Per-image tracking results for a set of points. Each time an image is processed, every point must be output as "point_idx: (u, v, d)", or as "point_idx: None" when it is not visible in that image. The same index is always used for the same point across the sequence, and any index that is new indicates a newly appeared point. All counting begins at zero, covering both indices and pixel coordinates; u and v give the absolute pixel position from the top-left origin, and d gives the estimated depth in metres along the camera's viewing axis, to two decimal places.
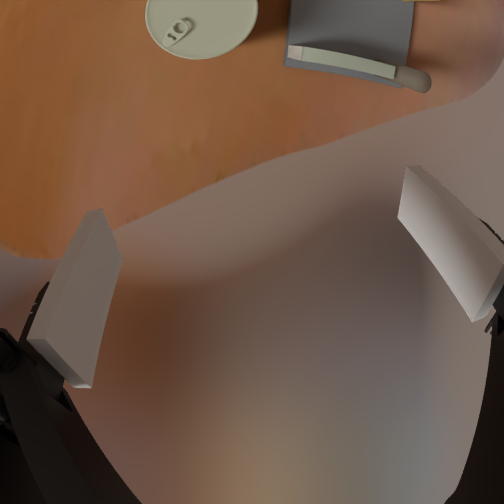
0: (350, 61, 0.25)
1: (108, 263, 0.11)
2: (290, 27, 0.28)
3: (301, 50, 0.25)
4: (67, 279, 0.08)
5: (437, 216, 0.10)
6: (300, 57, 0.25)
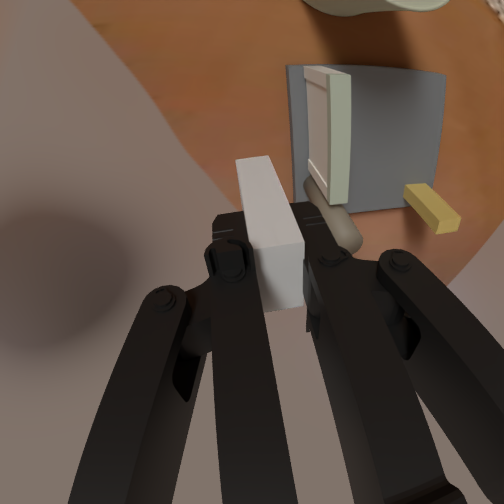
0: (341, 140, 0.20)
1: None
2: (343, 66, 0.23)
3: (340, 73, 0.18)
4: (265, 203, 0.10)
5: None
6: (329, 73, 0.18)
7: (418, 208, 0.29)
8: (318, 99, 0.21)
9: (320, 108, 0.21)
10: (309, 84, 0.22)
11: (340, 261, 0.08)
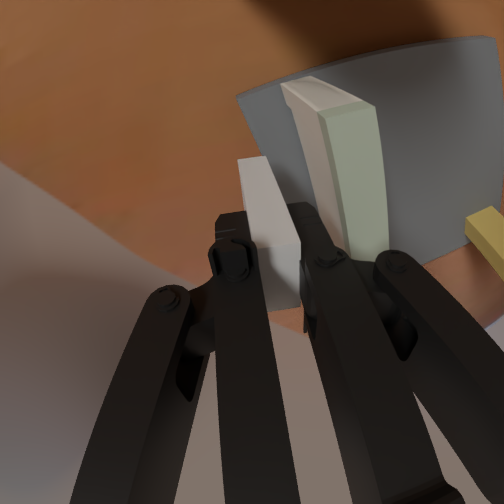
0: (371, 245, 0.10)
1: None
2: (334, 66, 0.12)
3: (349, 102, 0.08)
4: (268, 203, 0.10)
5: None
6: (324, 107, 0.08)
7: (489, 255, 0.17)
8: (315, 152, 0.12)
9: (322, 171, 0.12)
10: (297, 117, 0.13)
11: (337, 261, 0.08)
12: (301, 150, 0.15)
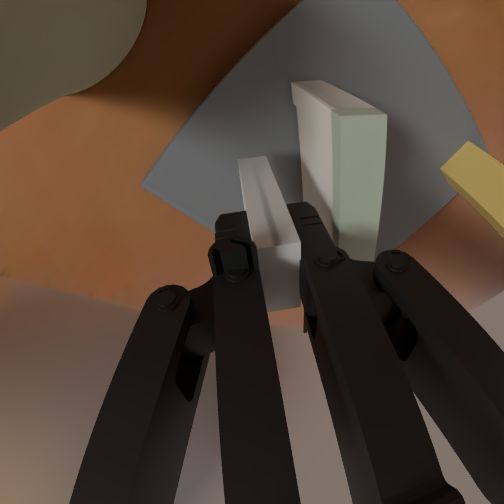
0: (359, 247, 0.11)
1: None
2: (196, 114, 0.14)
3: (361, 107, 0.08)
4: (268, 203, 0.10)
5: None
6: (338, 107, 0.08)
7: (475, 205, 0.14)
8: (316, 151, 0.12)
9: (320, 171, 0.12)
10: (301, 117, 0.13)
11: (337, 261, 0.08)
12: (215, 196, 0.17)
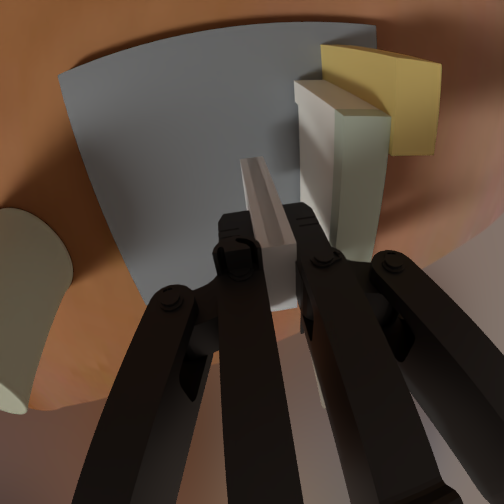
0: (356, 249, 0.11)
1: None
2: (122, 253, 0.19)
3: (366, 108, 0.08)
4: (271, 202, 0.10)
5: None
6: (342, 107, 0.08)
7: None
8: (316, 150, 0.12)
9: (319, 171, 0.12)
10: (303, 115, 0.13)
11: (333, 262, 0.08)
12: (187, 281, 0.21)
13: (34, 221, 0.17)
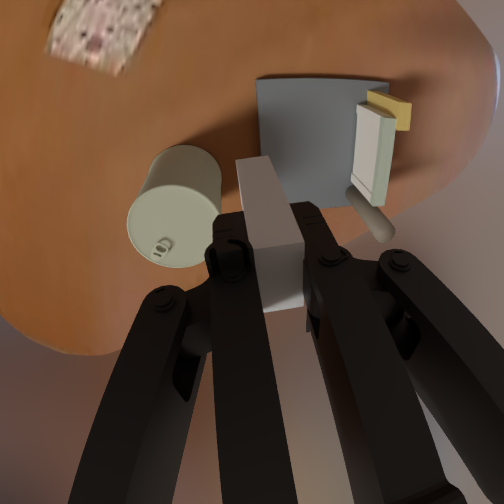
0: (385, 162, 0.29)
1: None
2: None
3: (388, 116, 0.27)
4: (265, 203, 0.10)
5: None
6: (382, 115, 0.27)
7: None
8: (368, 131, 0.30)
9: (370, 138, 0.30)
10: (360, 118, 0.32)
11: (340, 261, 0.08)
12: (293, 197, 0.39)
13: (208, 154, 0.35)
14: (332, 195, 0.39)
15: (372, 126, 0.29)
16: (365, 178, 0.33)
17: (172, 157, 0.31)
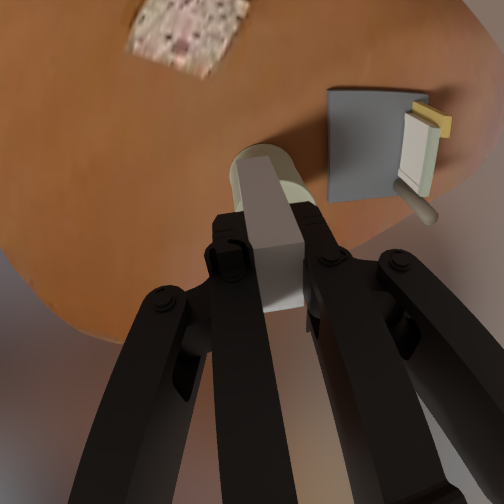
0: (431, 162, 0.34)
1: None
2: (330, 172, 0.42)
3: (434, 126, 0.32)
4: (265, 203, 0.10)
5: None
6: (429, 125, 0.32)
7: None
8: (416, 136, 0.35)
9: (417, 142, 0.35)
10: (408, 125, 0.36)
11: (340, 261, 0.08)
12: (353, 189, 0.44)
13: (286, 152, 0.40)
14: (383, 187, 0.44)
15: (420, 133, 0.34)
16: (412, 174, 0.38)
17: (261, 154, 0.37)
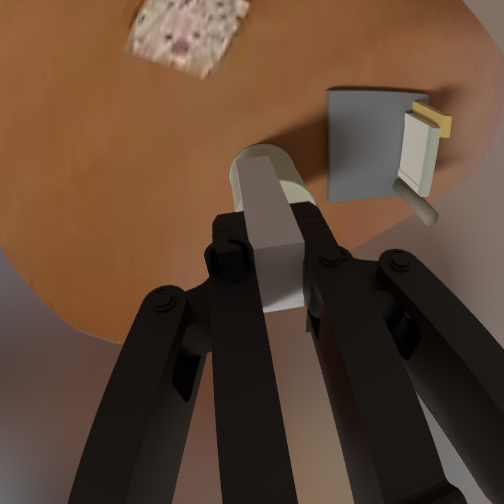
0: (431, 162, 0.34)
1: None
2: (330, 172, 0.42)
3: (434, 126, 0.32)
4: (265, 203, 0.10)
5: None
6: (429, 125, 0.32)
7: None
8: (416, 136, 0.35)
9: (417, 142, 0.35)
10: (408, 125, 0.36)
11: (340, 261, 0.08)
12: (353, 189, 0.44)
13: (286, 152, 0.40)
14: (383, 187, 0.44)
15: (420, 133, 0.34)
16: (412, 174, 0.38)
17: (261, 154, 0.37)
